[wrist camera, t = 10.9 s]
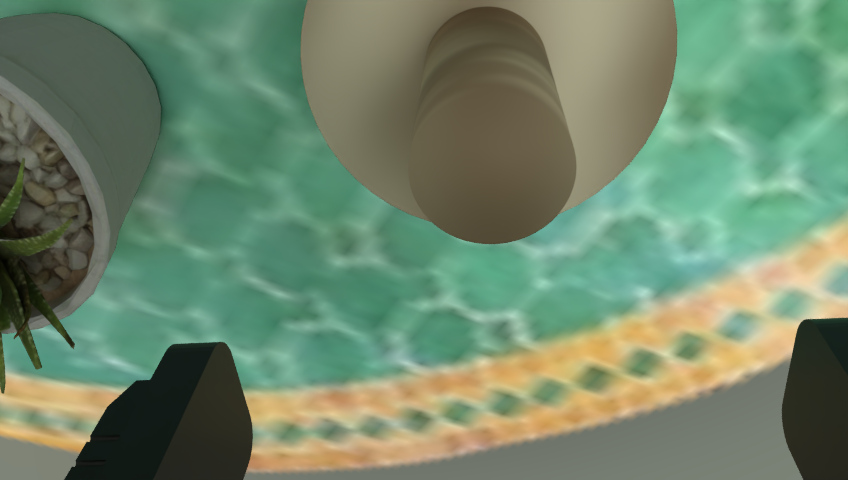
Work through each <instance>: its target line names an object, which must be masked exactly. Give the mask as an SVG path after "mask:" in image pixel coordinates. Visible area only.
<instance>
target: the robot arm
mask: <svg viewBox="0 0 848 480" xmlns="http://www.w3.org/2000/svg"><path fill="white" fill-rule="evenodd" d="M782 422H783V429H784V434H785V438H786V442H787V445H788V448H789V450H790V452H791V454H792V456H793V458H794V461H795V463H796V465H797V467H798V469H799V471H800V473H801V476H802V478H803V480H848V318H829V319H806V320H803V321H802V322H801V323H800V325H799V327H798V330H797V333H796V338H795V343H794V348H793V353H792V358H791V363H790V368H789V373H788V378H787V383H786V389H785V393H784V398H783V404H782ZM90 437H91V440H90V442H86V444H85V446H84V447H83V449H82V451H81V452H80V454H79V456H78V458H77V459H76V466H75V467H72V468H71V470H70V471H69V473H68V474H67V476H66V478H65V479H64V480H243V478H244V476H245V473H246V470H247V467H248V464H249V460H250V456H251V451H252V439H253V433H252V422H251V417H250V414H249V410H248V407H247V404H246V400H245V397H244V394H243V390H242V387H241V384H240V380H239V377H238V373H237V370H236V367H235V363H234V360H233V357H232V354H231V351H230V349H229V347H228V346H227V344H225V343H224V342H212V343H188V344H173V345H171V346H170V347H169V348H168V349H167V351H166V352H165V354H164V356H163V358H162V359H161V361H160V363H159V365H158V367H157V369H156V370H155V372H154V374H153V376H152V378H151V380H139V381H135V382H134V383H133V384H132V385H131V386H130V387H129V388H128V389H127V390H125V391H124V392H123V393H122V394H121V395H120V396H119V397H118V398H117V399H115V400H114V401H113V402H112V403H111V404H110V405H109V406H108V407H107V409H106V410H105V412H104V414H103V415H102V417H101V419H100V420H99V422H98V424H97V425H96V427H95V429H94V431H93V432H92V434H91V436H90Z"/></svg>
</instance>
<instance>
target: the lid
mask: <svg viewBox="0 0 848 480" xmlns="http://www.w3.org/2000/svg"><path fill="white" fill-rule="evenodd" d="M676 56H677V25H676V17H675V9H674V3H673V0H308V1H307V4H306V8H305V12H304V18H303V25H302V31H301V66H302V75H303V82H304V87H305V91H306V95H307V99H308V103H309V106H310V108H311V111H312V113H313V116H314V118H315V121H316V124H317V126H318V128H319V130H320V131H321V133H322V135H323V137H324V139H325V141H326V142H327V144H328V146H329V147H330V148H331V150H332V151H333V153H334V154H335V155H336V157H337V158H338V160H339V161H340V162H341V164H342V165H343V166H344V167H345V168H346V169H347V170H348V171H349V172H350V173H351V174H352V175H353V176H354V177H355V179H357V180H358V181H359V182H360V183H361V184H362V185H364V186H365V187H366V188H367V189H368V190H370V191H371V192H372V193H373V194H375V195H376V196H378V197H380V198H381V199H383V200H384V201H386V202H387V203H389V204H390V205H392V206H394V207H396V208H398V209H400V210H402V211H404V212H406V213H408V214H410V215H413V216H416V217H419V218H422V219H424V220H427V221H430V222H432V223H434V224H435V225H436V226H437V227H438V228H440V229H441V230H443V231H445V232H446V233H448V234H450V235H452V236H454V237H457V238H459V239H462V240H465V241H469V242H474V243H481V244H500V243H507V242H512V241H516V240H519V239H522V238H525V237H527V236H529V235H532V234H534V233H536V232H537V231H539V230H540V229H542V228H544V227H545V226H546V225H547V224H549V223H550V222H551V221H552V220H553V219H554V218H555V217H556V216H557V215H558V214H560V213H562V212H564V211H566V210H568V209H570V208H573V207H575V206H577V205H579V204H580V203H582V202H583V201H585V200H587V199H588V198H590V197H591V196H593V195H594V194H596V193H597V192H599V191H600V190H601V189H602V188H604V187H605V186H606V185H607V184H609V183H610V182H611V181H612V180H614V179H615V178H616V177H617V176H618V175H619V174H620V173H621V172H622V171H623V170H624V169H625V168H626V167H627V166H628V165H629V164H630V163H631V161H632V160H633V159H634V157H635V156H636V155H637V154H638V152H639V151H640V150H641V148H642V147H643V146H644V145H645V143H646V141H647V140H648V138H649V136H650V135H651V133H652V131H653V129H654V128H655V126H656V124H657V122H658V120H659V118H660V115H661V113H662V111H663V109H664V106H665V104H666V102H667V98H668V95H669V91H670V88H671V84H672V81H673V76H674V70H675V63H676Z"/></svg>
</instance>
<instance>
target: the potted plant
mask: <svg viewBox="0 0 848 480" xmlns="http://www.w3.org/2000/svg"><path fill="white" fill-rule="evenodd" d="M160 122H161V105H160V101H159V97H158V94H157V90H156V86H155V84H154V82H153V80H152V78H151V77H150V75H149V73H148V71H147V69H146V68H145V66H144V64H143V62H142V61H141V60H140V59H139V58H138V57H137V55H136V54H135V53H134V52H133V51H132V50H131V49H130V48H129V47H128V45H127V44H126V43H125V42H123V41H122V40H121V39H119V38H118V37H117V36H115V35H114V34H113V33H111V32H110V31H109V30H107V29H106V28H105V27H102V26H100V25H98V24H95V23H93V22H91V21H88V20H86V19H84V18H81V17H79V16H73V15H66V14H59V13H42V14H28V15H18V16H12V17H6V18H1V19H0V388H1V393H3V394H4V390H5V364H4V354H3V344H2V334H1V333H3V334H8V333H14V332H17V334H16V335H15V336H14V339H15V338H16V337H17V336H18V335H19V337H20V339H21V341H22V343H23V345H24V347H25V349H26V351H27V353H28V355H29V357H30V359H31V361H32V363H33V365H34V367H35V369H40V368H42V365H41V362H40V359H39V356H38V353H37V350H36V347H35V344H34V341H33V337H32V334H31V331H30V330H33V329H40V328H43V327H45V326H47V325H50V324H52V325H53V326H54V327H55V329H56V330H57V331H58V332H59V333H60V334H61V335H62V336H63V337H64V338H65V339H66V341H67V342H68V343H69V345H70V346H71V347H72V348H73V349H74V345H75V344H74V342H73V341H72V339H71V338H70V336H69V335H68V333H67V332H66V330H65V329H64V327H63V326H62V324H61V323H60V321H59V320H60V319H63V318H65V317H67V316H69V315H71V314H72V313H73V312H74V311H75V310H76V309H77V308H79V307H80V306H81V305H82V304H83V303H84V302H85V301H86V300H87V299H88V298H89V297H90V296H91V295H92V294H93V293H94V291H95V289H96V287H97V285H98V283H99V281H100V279H101V277H102V275H103V273H104V271H105V269H106V267H107V265H108V263H109V261H110V259H111V256H112V254H113V252H114V250H115V248H116V243H117V238H118V233H119V230H120V228H121V226H122V223H123V221H124V219H125V217H126V214H127V212H128V210H129V208H130V206H131V203H132V201H133V199H134V197H135V194H136V192H137V190H138V188H139V185H140V183H141V181H142V179H143V176H144V174H145V172H146V170H147V168H148V165H149V163H150V160H151V158H152V155H153V152H154V149H155V146H156V143H157V140H158V137H159V135H160Z"/></svg>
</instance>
